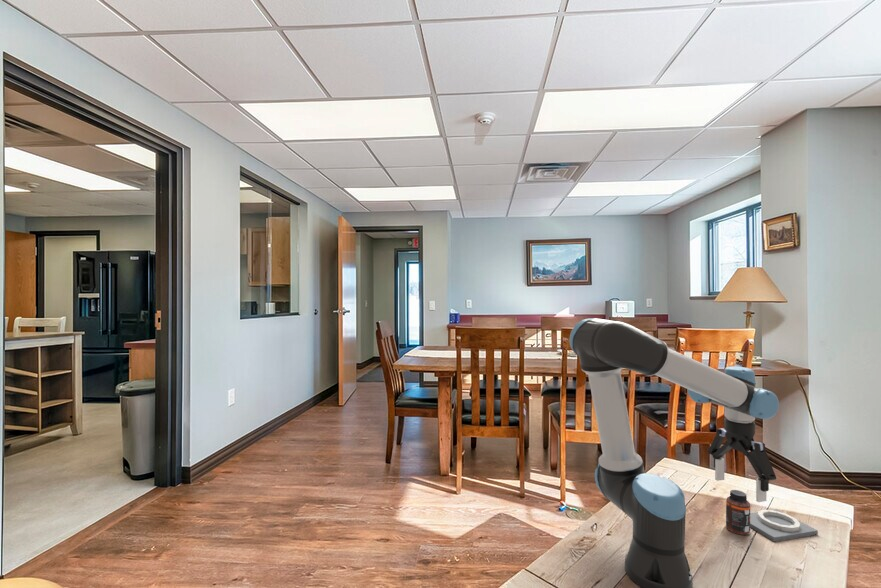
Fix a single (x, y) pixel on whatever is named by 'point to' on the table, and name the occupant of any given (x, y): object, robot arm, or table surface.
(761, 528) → the hub board
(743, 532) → the supplement bottle
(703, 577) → the table surface
